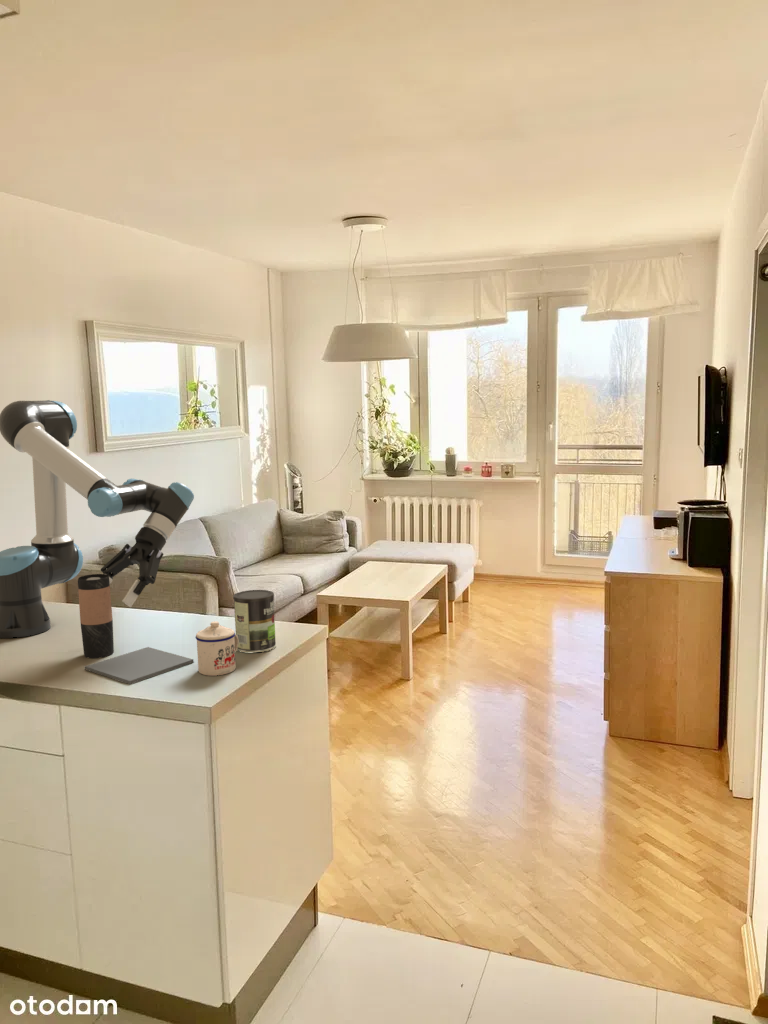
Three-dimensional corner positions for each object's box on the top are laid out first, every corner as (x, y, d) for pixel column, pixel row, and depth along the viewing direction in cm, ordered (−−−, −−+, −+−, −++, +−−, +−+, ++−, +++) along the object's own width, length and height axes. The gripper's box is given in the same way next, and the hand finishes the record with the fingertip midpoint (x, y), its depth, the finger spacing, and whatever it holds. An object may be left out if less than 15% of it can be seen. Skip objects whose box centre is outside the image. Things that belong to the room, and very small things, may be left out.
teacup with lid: (218, 679, 177) (215, 629, 176) (189, 672, 182) (186, 624, 180) (252, 663, 187) (250, 616, 186) (224, 658, 192) (222, 612, 191)
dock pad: (84, 669, 186) (84, 666, 186) (148, 650, 200) (147, 647, 200) (130, 684, 175) (129, 680, 175) (193, 662, 189) (193, 659, 189)
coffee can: (281, 642, 204) (279, 589, 202) (268, 654, 194) (265, 599, 192) (244, 640, 206) (242, 588, 204) (229, 652, 196) (226, 598, 194)
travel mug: (121, 651, 200) (116, 575, 197) (99, 660, 193) (93, 581, 190) (99, 647, 203) (93, 572, 200) (76, 656, 196) (70, 579, 193)
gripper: (193, 545, 203) (150, 615, 193) (135, 538, 218) (91, 602, 208) (176, 528, 198) (130, 599, 188) (117, 522, 213) (72, 587, 203)
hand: (110, 601), depth 198 cm, fingers open, 13 cm apart
